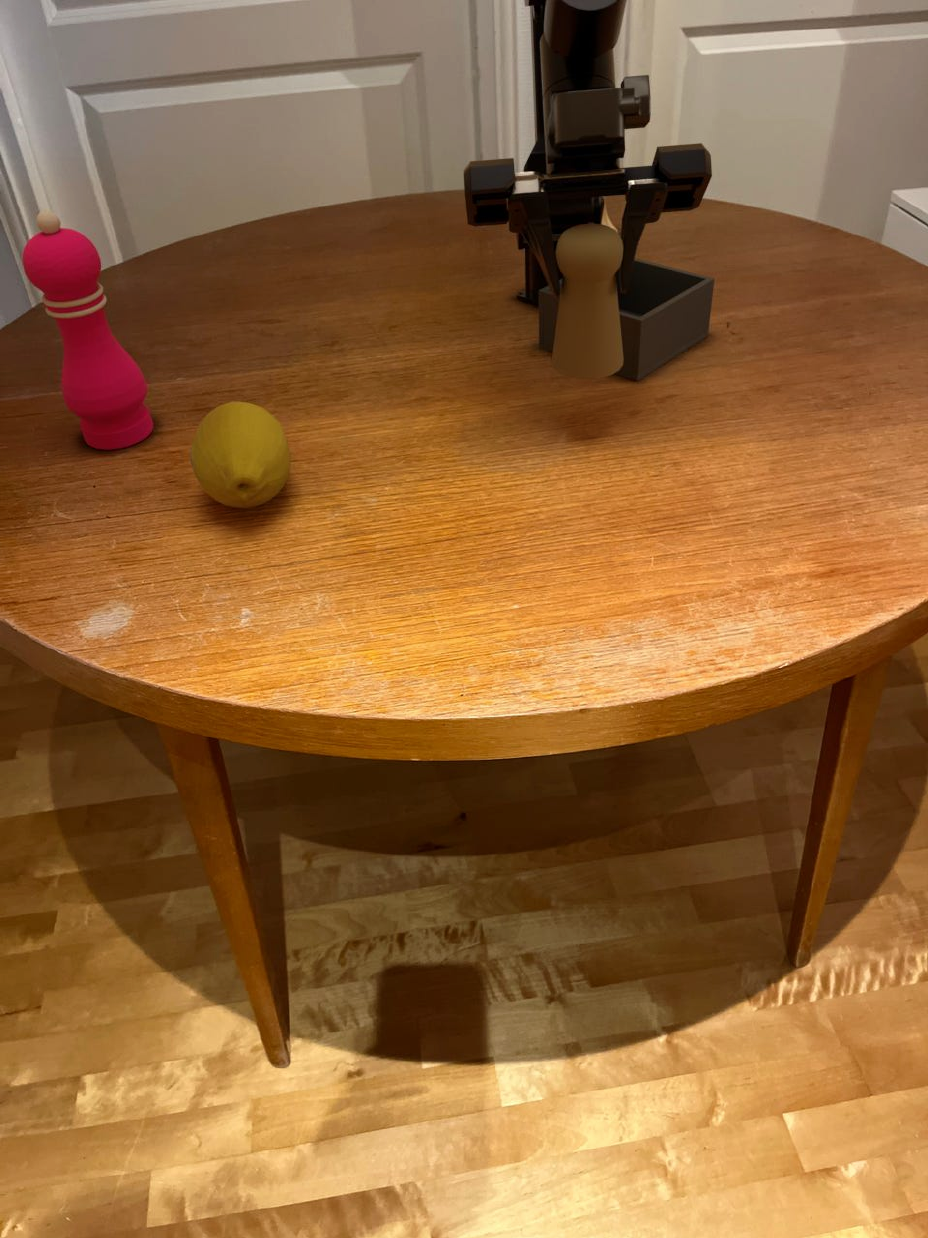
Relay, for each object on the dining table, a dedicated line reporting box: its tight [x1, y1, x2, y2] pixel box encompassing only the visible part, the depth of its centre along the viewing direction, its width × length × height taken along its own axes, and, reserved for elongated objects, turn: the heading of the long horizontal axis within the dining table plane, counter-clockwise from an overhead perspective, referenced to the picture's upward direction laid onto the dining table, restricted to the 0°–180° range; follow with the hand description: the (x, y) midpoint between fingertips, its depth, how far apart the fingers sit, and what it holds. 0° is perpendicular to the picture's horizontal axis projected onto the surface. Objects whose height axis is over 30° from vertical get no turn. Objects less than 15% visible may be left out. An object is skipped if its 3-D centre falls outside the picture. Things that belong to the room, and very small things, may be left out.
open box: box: [538, 257, 715, 382], centre depth 94 cm, size 12×12×6 cm
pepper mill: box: [22, 210, 154, 451], centre depth 82 cm, size 7×7×20 cm
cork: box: [550, 224, 624, 381], centre depth 76 cm, size 6×6×11 cm
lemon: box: [190, 401, 292, 509], centre depth 76 cm, size 11×8×8 cm
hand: (590, 293), depth 74 cm, fingers closed on cork, 5 cm apart
